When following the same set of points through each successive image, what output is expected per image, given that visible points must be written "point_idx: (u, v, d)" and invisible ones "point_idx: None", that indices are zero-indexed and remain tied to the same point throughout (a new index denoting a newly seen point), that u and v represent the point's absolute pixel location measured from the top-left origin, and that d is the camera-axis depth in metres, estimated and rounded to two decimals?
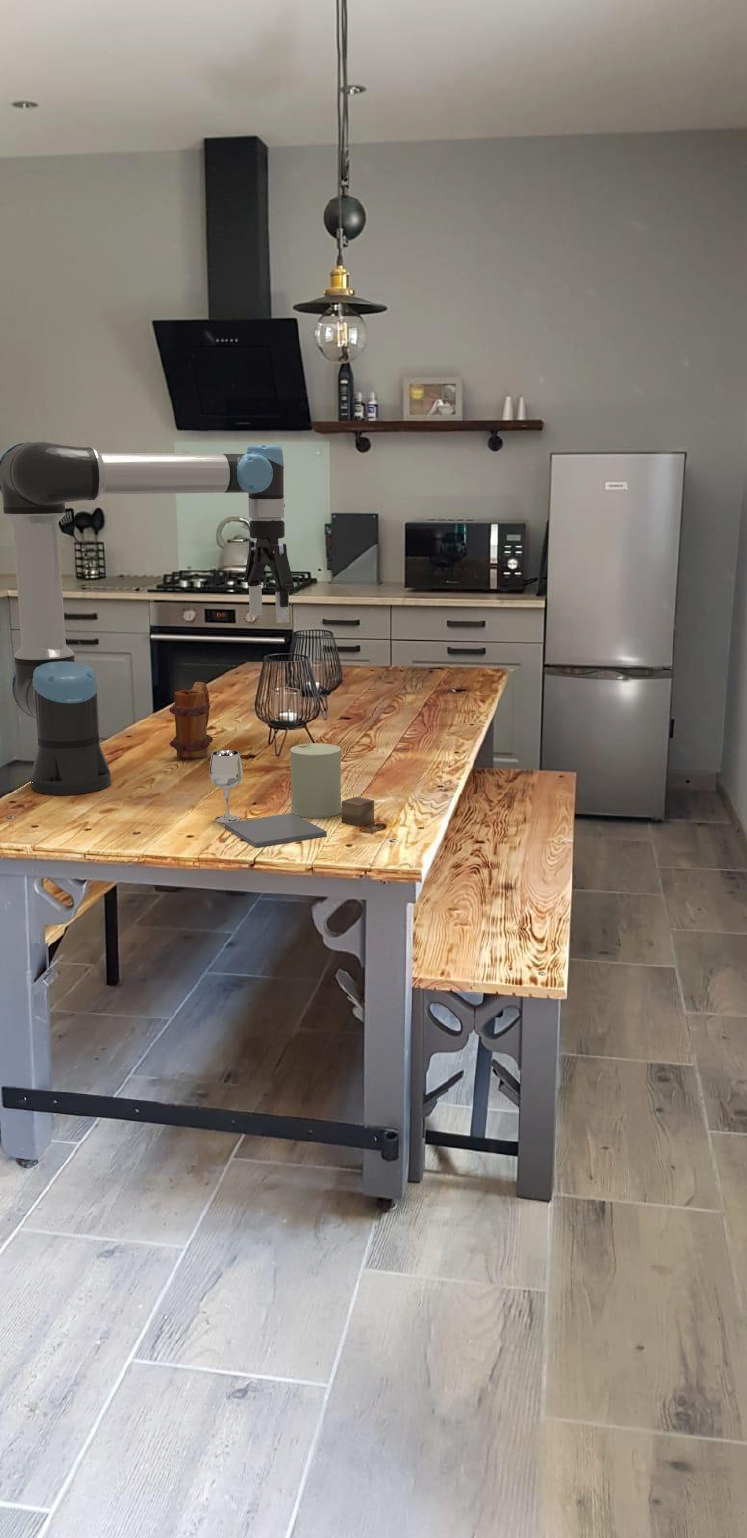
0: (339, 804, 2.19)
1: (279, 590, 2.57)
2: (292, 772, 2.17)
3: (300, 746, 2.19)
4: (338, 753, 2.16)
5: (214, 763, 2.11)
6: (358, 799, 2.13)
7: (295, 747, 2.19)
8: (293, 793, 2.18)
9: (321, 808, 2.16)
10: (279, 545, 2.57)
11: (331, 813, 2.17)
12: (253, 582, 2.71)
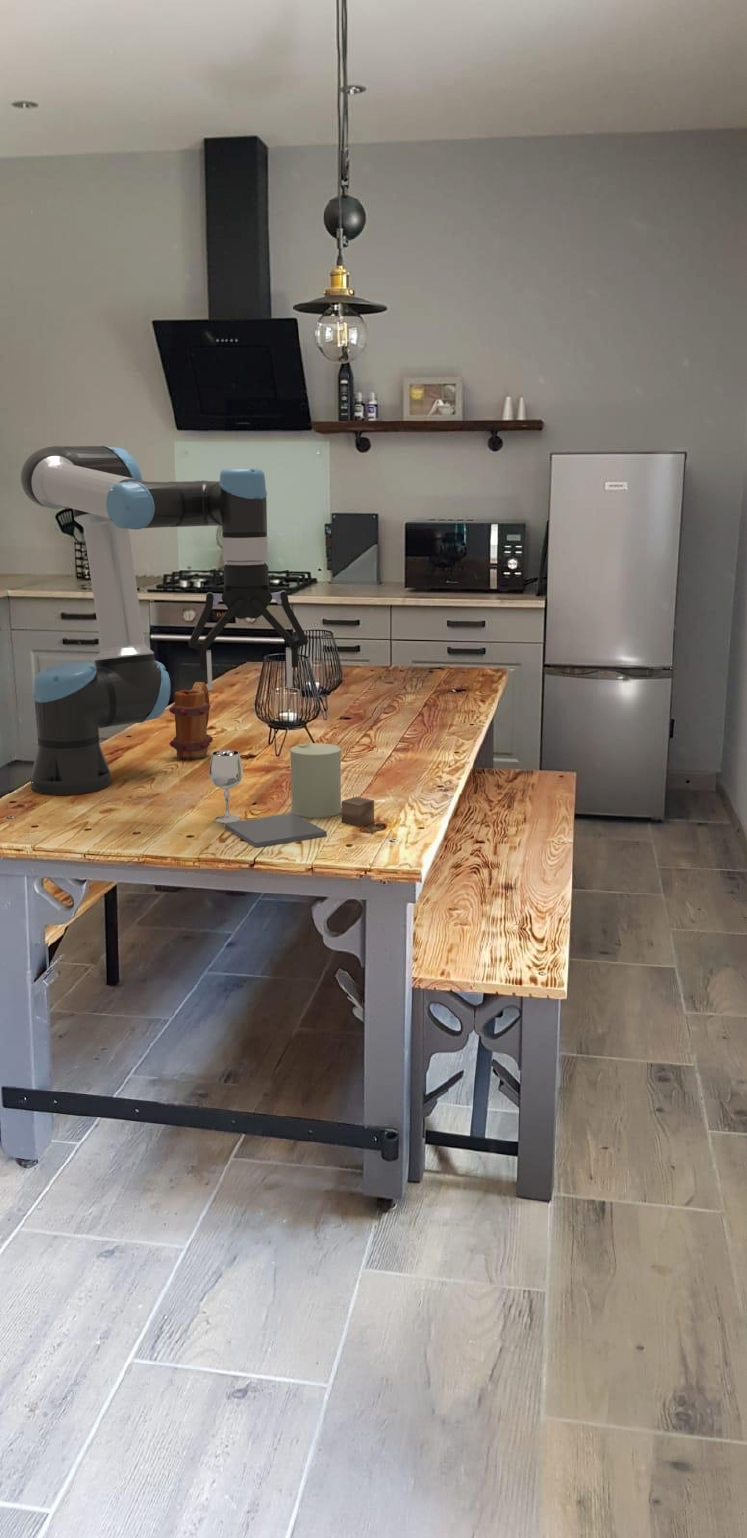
0: (339, 804, 2.19)
1: None
2: (292, 772, 2.17)
3: (300, 746, 2.19)
4: (338, 753, 2.16)
5: (214, 763, 2.11)
6: (358, 799, 2.13)
7: (295, 747, 2.19)
8: (293, 793, 2.18)
9: (321, 808, 2.16)
10: None
11: (331, 813, 2.17)
12: None
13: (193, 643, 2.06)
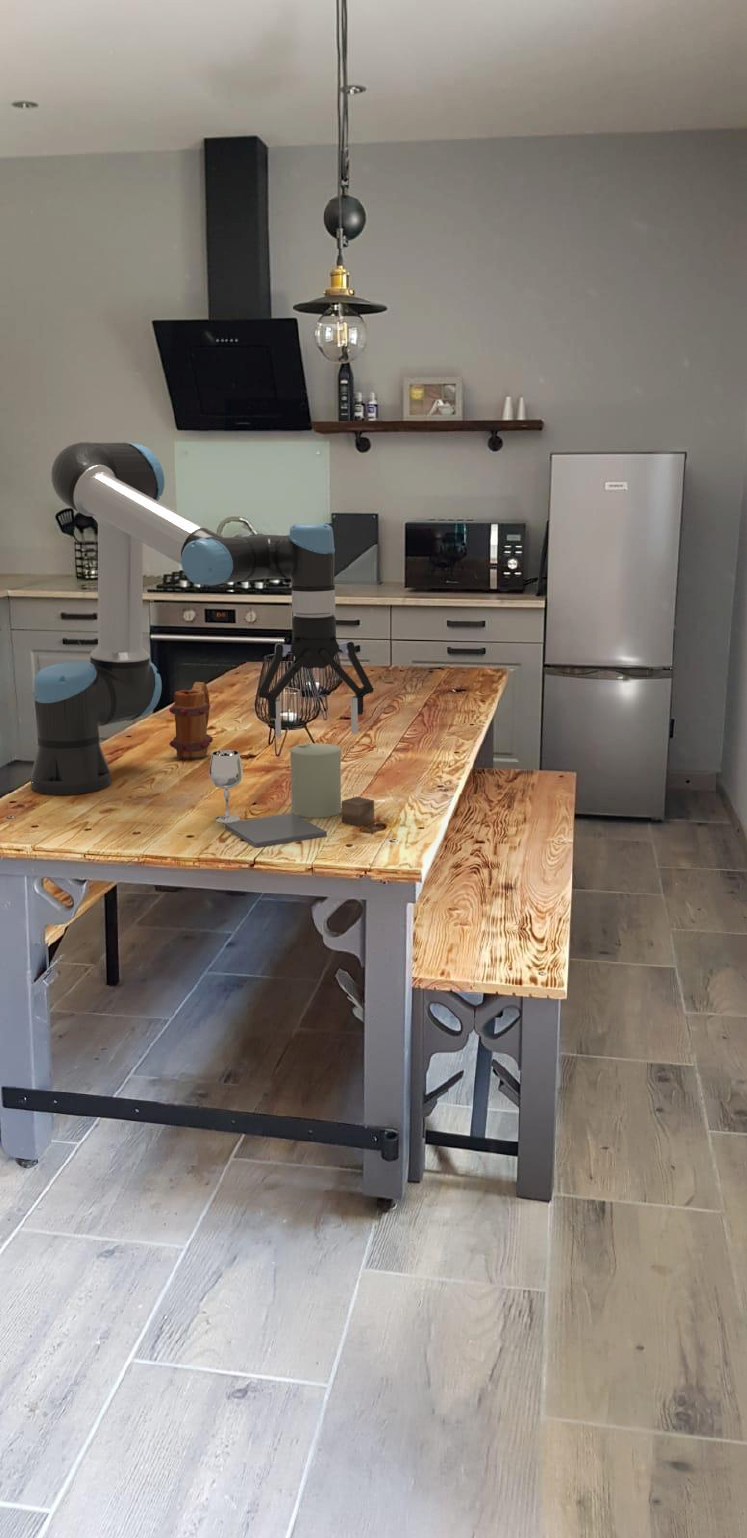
0: (339, 804, 2.19)
1: None
2: (292, 772, 2.17)
3: (300, 746, 2.19)
4: (338, 753, 2.16)
5: (214, 763, 2.11)
6: (358, 799, 2.13)
7: (295, 747, 2.19)
8: (293, 793, 2.18)
9: (321, 808, 2.16)
10: (352, 642, 2.14)
11: (331, 813, 2.17)
12: None
13: (263, 693, 2.12)
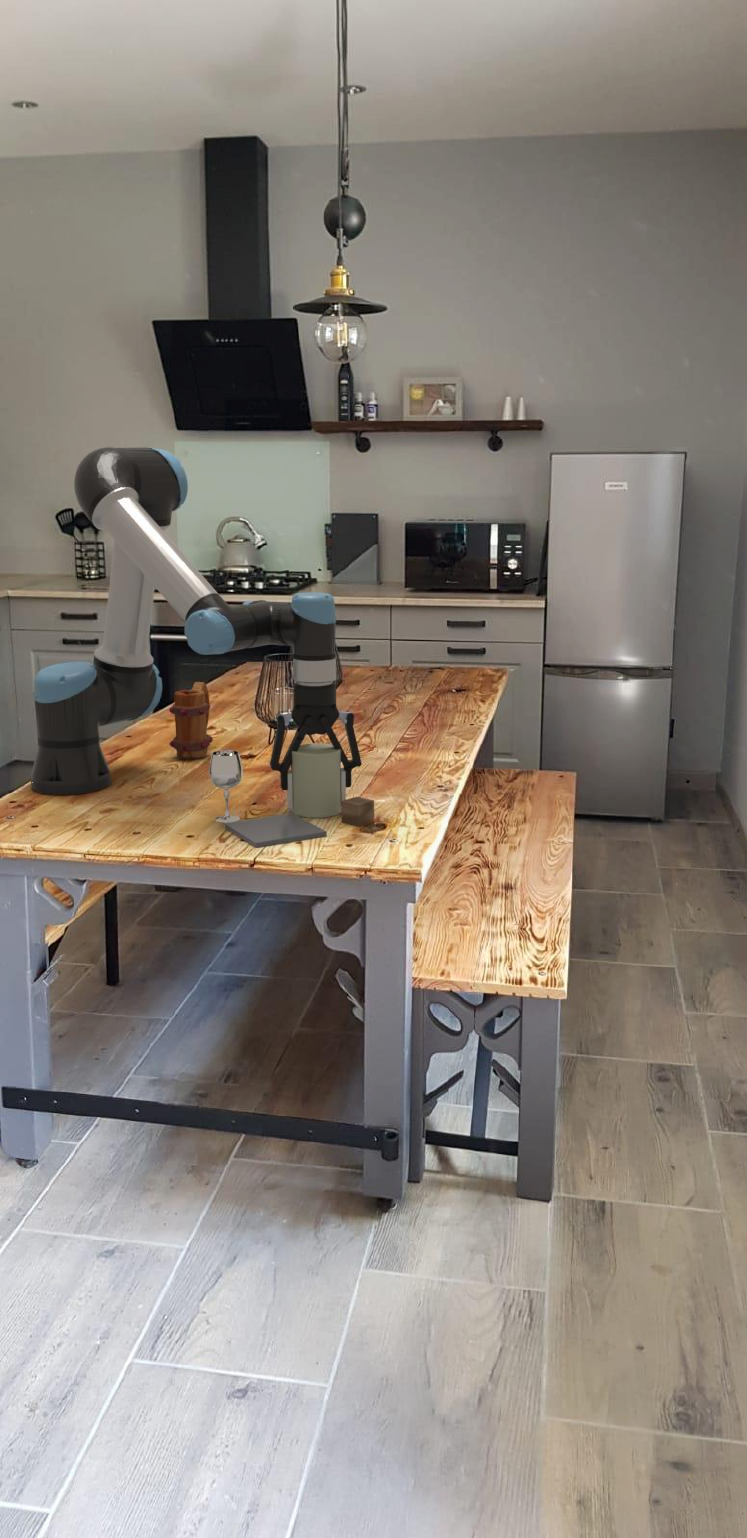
0: (339, 804, 2.19)
1: None
2: (292, 772, 2.17)
3: (300, 746, 2.19)
4: (338, 753, 2.16)
5: (213, 763, 2.11)
6: (358, 799, 2.13)
7: None
8: (293, 793, 2.18)
9: (321, 808, 2.16)
10: None
11: (331, 813, 2.17)
12: None
13: (275, 765, 2.16)
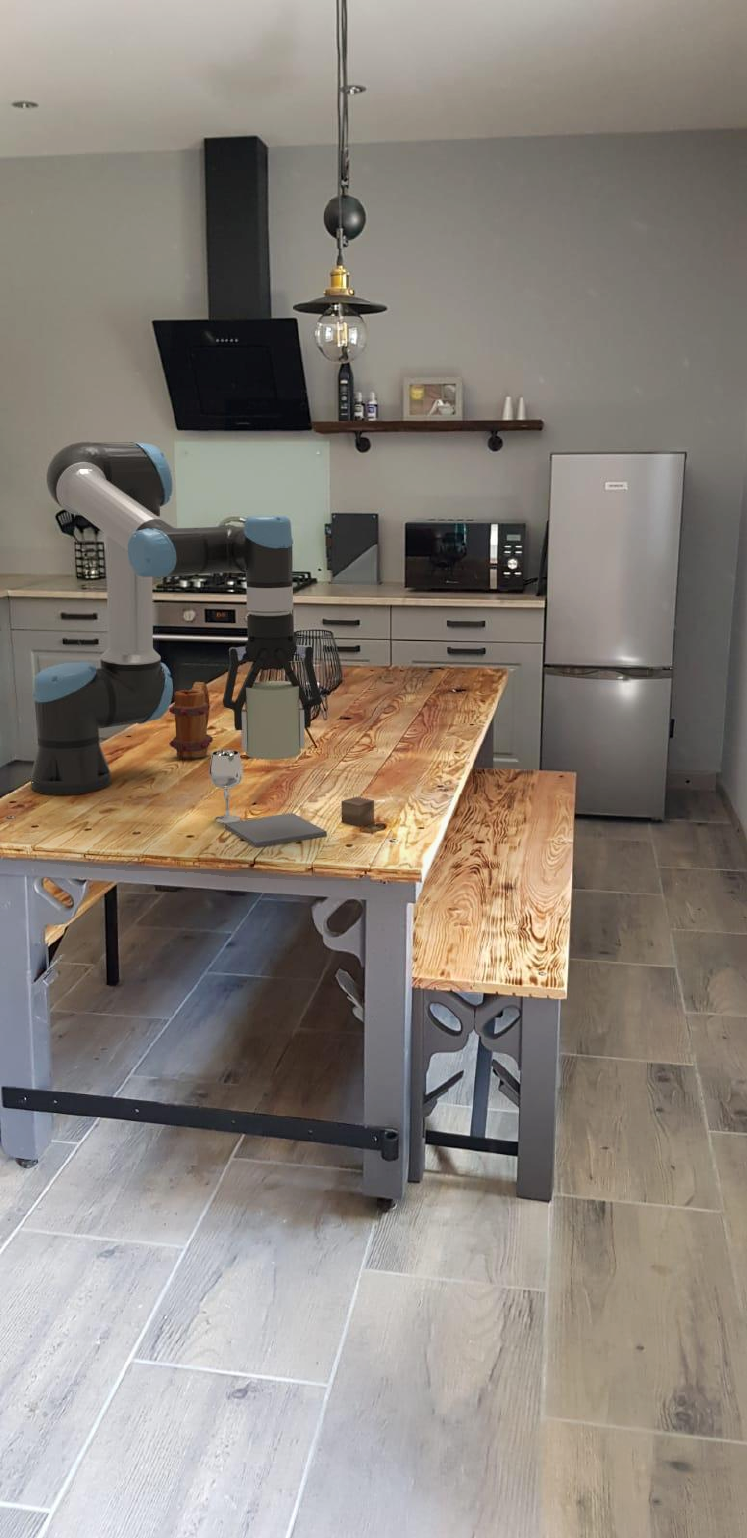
0: (297, 745, 2.03)
1: None
2: (246, 710, 2.01)
3: (255, 683, 2.03)
4: (296, 690, 2.00)
5: (214, 763, 2.11)
6: (358, 799, 2.13)
7: None
8: (248, 733, 2.02)
9: (277, 748, 2.00)
10: None
11: (288, 755, 2.01)
12: None
13: (228, 703, 2.00)
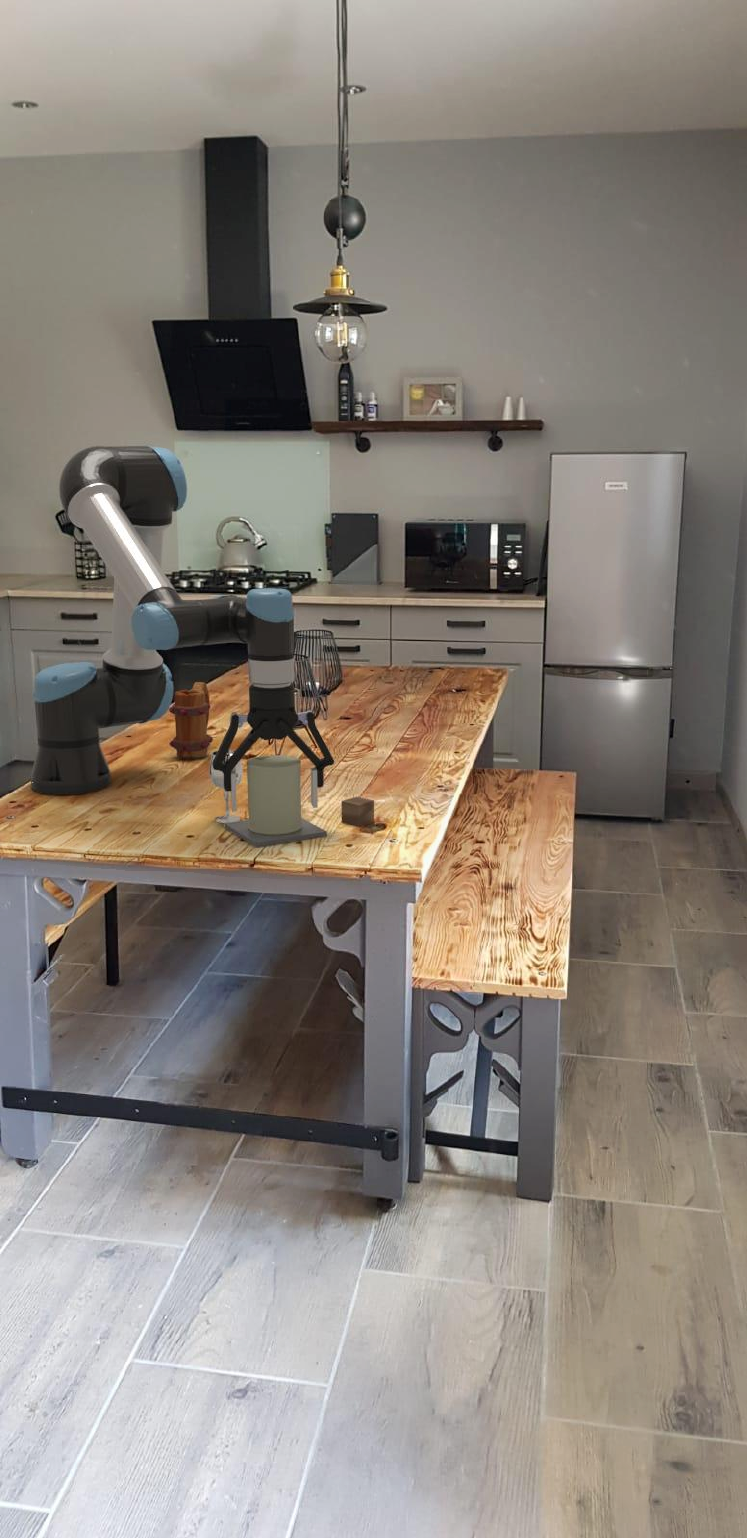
0: (299, 820, 2.06)
1: None
2: (248, 786, 2.04)
3: (257, 758, 2.06)
4: (297, 766, 2.03)
5: None
6: (358, 799, 2.13)
7: (252, 759, 2.06)
8: (250, 808, 2.05)
9: (279, 824, 2.03)
10: (312, 713, 2.04)
11: (290, 830, 2.04)
12: None
13: (217, 765, 2.02)
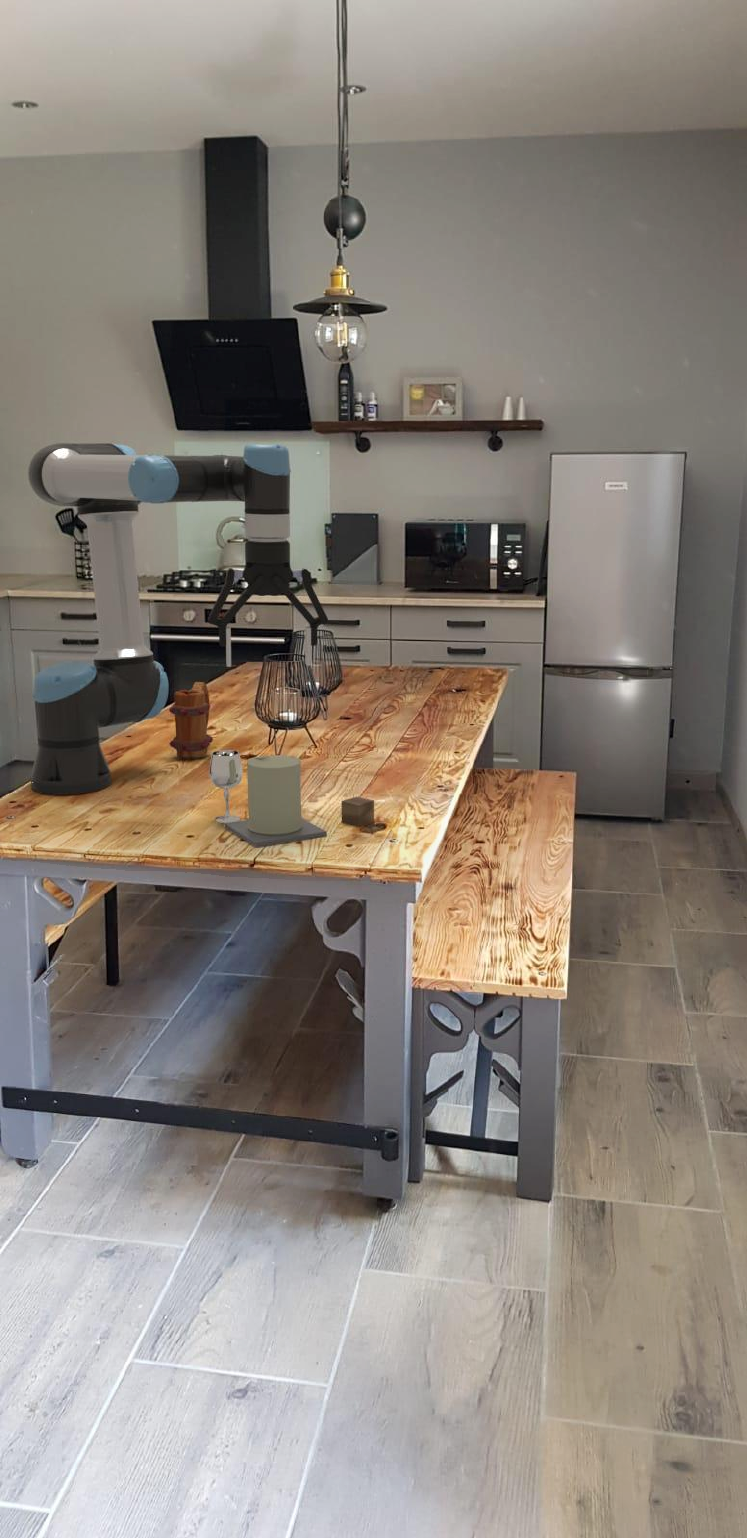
0: (299, 820, 2.06)
1: (317, 625, 2.08)
2: (249, 786, 2.04)
3: (258, 758, 2.06)
4: (297, 766, 2.03)
5: (213, 763, 2.11)
6: (358, 799, 2.13)
7: (252, 759, 2.06)
8: (250, 808, 2.05)
9: (279, 824, 2.03)
10: None
11: (290, 829, 2.04)
12: None
13: (213, 619, 2.06)
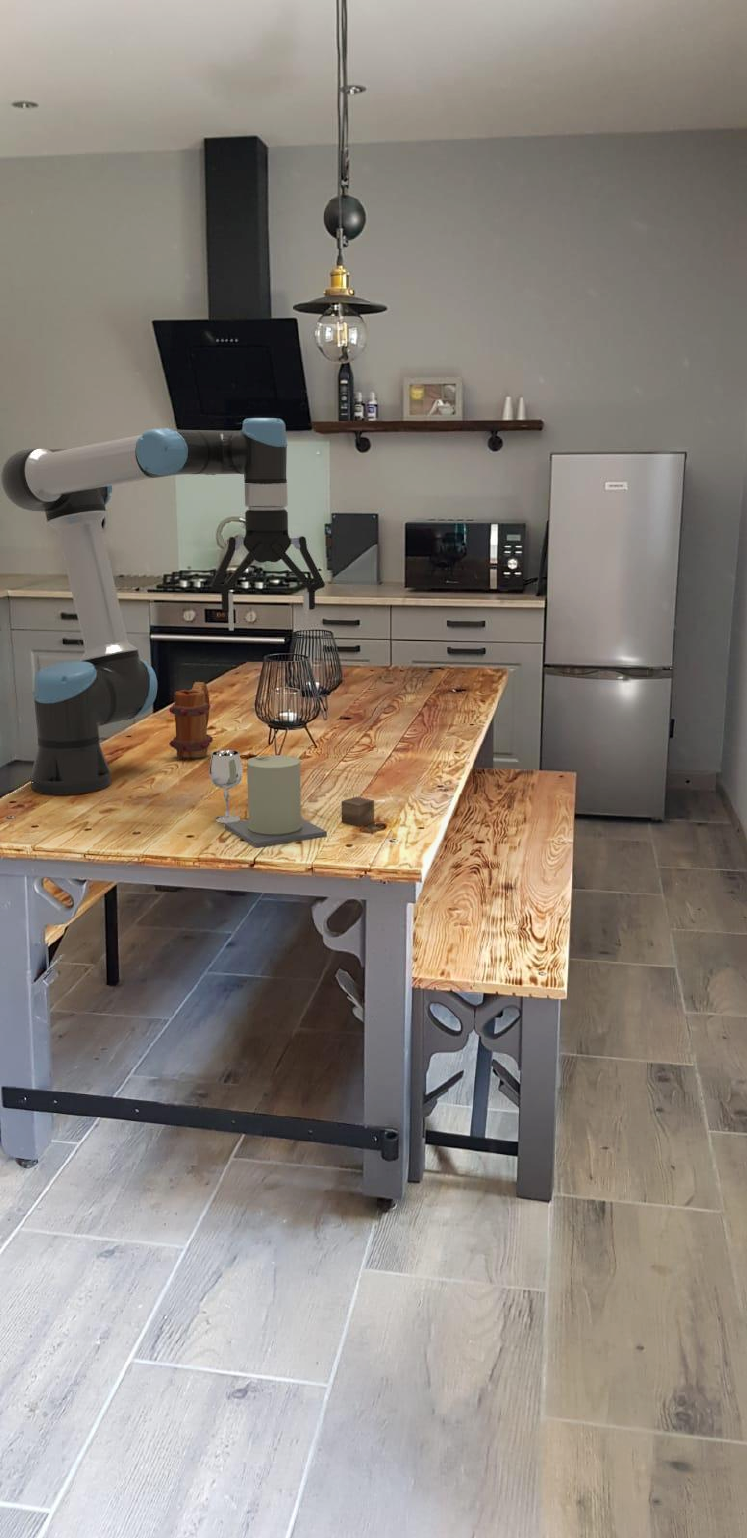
0: (299, 820, 2.06)
1: None
2: (248, 786, 2.04)
3: (257, 758, 2.07)
4: (297, 766, 2.03)
5: (213, 763, 2.11)
6: (358, 799, 2.13)
7: (252, 759, 2.06)
8: (250, 808, 2.05)
9: (279, 824, 2.03)
10: None
11: (290, 829, 2.04)
12: None
13: (216, 585, 2.17)
